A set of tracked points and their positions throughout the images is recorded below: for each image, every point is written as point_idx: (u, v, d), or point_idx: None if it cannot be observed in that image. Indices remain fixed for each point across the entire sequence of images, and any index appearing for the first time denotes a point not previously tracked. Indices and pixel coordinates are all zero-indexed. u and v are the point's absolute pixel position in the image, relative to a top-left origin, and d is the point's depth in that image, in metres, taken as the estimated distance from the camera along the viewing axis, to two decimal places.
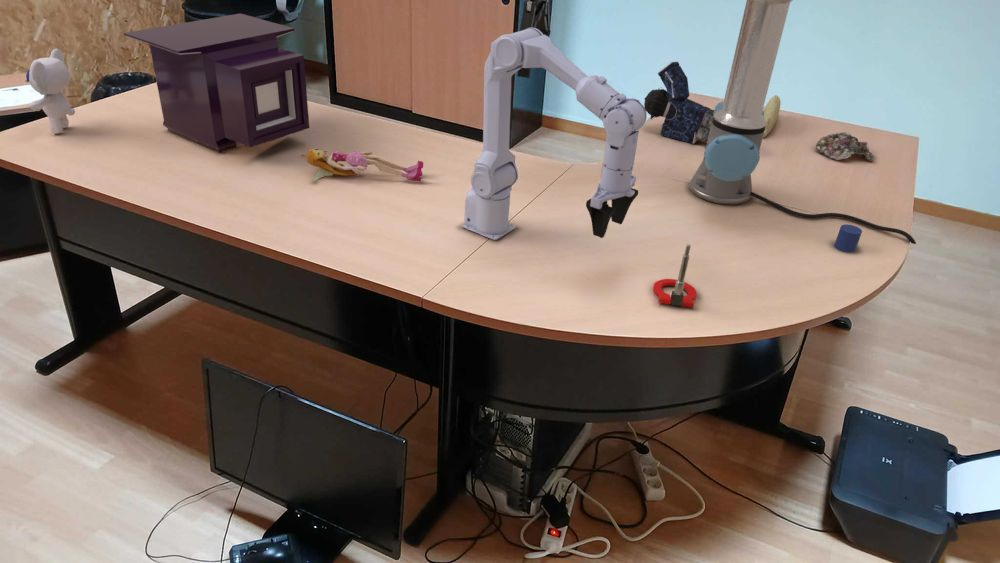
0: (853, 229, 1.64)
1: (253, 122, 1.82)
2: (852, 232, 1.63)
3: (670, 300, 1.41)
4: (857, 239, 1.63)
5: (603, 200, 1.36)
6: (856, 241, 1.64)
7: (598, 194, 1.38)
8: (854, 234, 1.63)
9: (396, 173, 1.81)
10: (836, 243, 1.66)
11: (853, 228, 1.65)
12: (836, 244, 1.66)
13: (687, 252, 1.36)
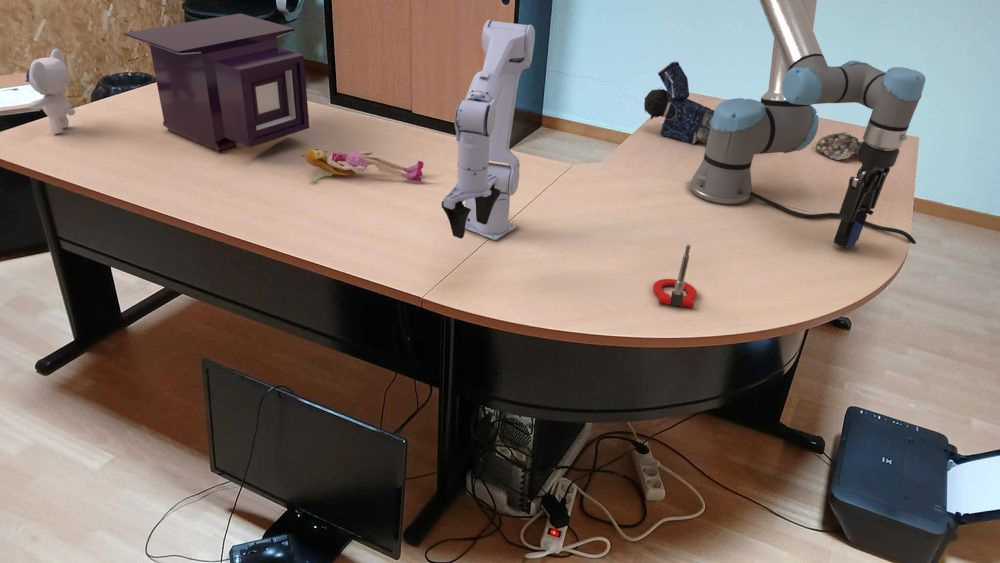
0: None
1: (253, 122, 1.82)
2: None
3: (670, 300, 1.41)
4: (857, 234, 1.63)
5: (455, 200, 1.34)
6: (856, 236, 1.63)
7: (452, 194, 1.35)
8: (854, 229, 1.62)
9: (396, 173, 1.81)
10: None
11: None
12: None
13: (687, 252, 1.36)
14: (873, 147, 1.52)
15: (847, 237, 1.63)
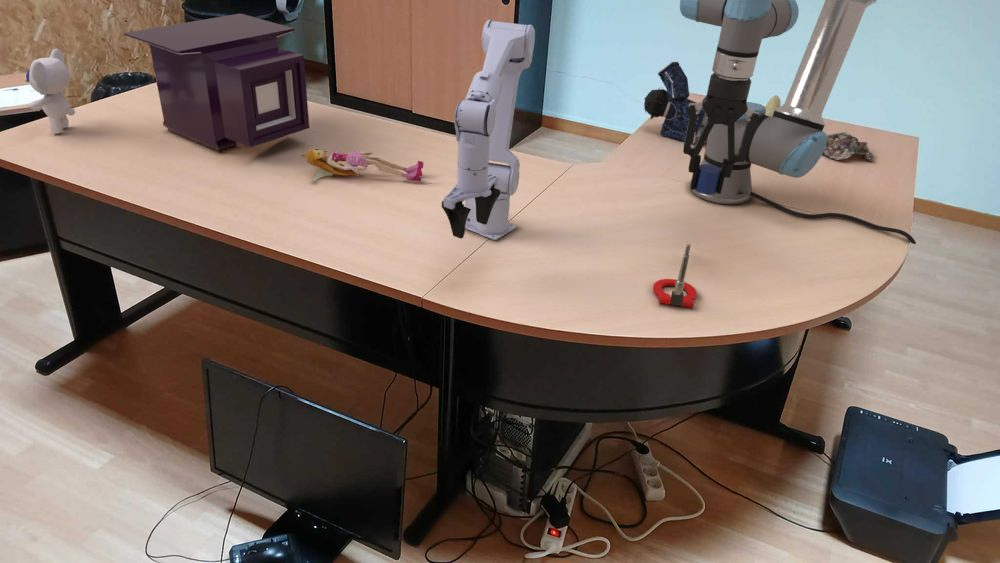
0: (710, 169, 1.48)
1: (253, 122, 1.82)
2: (703, 169, 1.47)
3: (670, 300, 1.41)
4: (706, 179, 1.47)
5: (455, 200, 1.34)
6: (705, 181, 1.47)
7: (452, 194, 1.35)
8: (702, 171, 1.47)
9: (396, 173, 1.81)
10: None
11: (713, 169, 1.48)
12: None
13: (687, 252, 1.36)
14: (714, 73, 1.39)
15: (692, 178, 1.48)
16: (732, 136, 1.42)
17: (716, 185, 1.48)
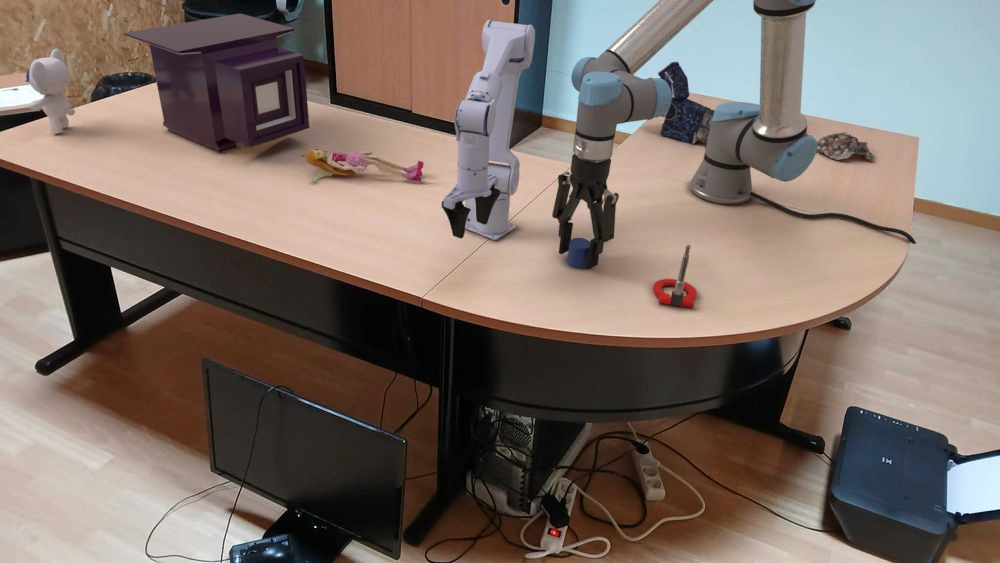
0: (579, 243, 1.51)
1: (253, 122, 1.82)
2: (572, 242, 1.51)
3: (670, 300, 1.41)
4: (571, 251, 1.51)
5: (455, 200, 1.34)
6: (570, 253, 1.51)
7: (452, 194, 1.35)
8: (569, 243, 1.51)
9: (396, 173, 1.81)
10: None
11: (582, 244, 1.50)
12: None
13: (687, 252, 1.36)
14: None
15: None
16: (593, 214, 1.44)
17: (581, 260, 1.51)
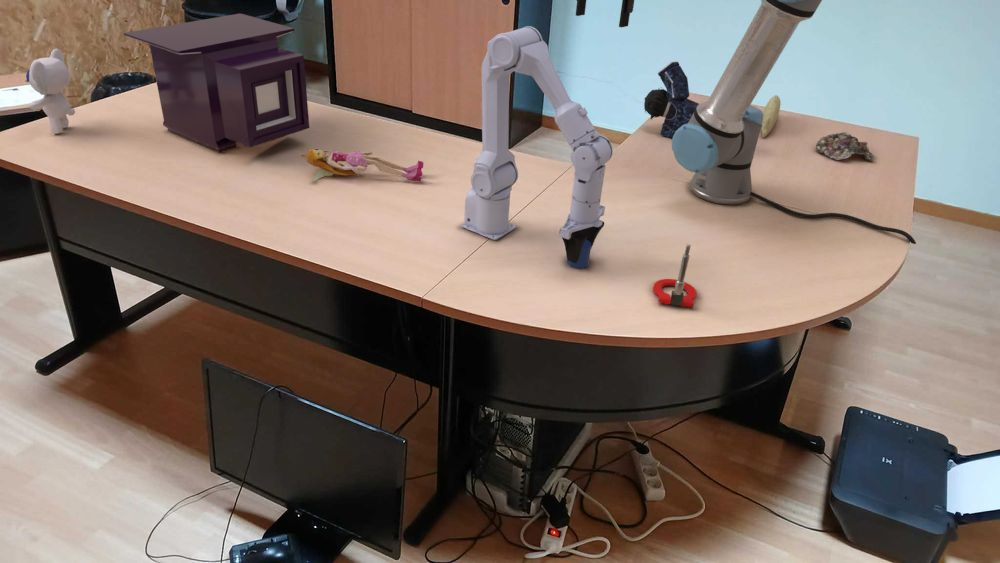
0: None
1: (253, 122, 1.82)
2: None
3: (670, 300, 1.41)
4: None
5: (572, 231, 1.43)
6: None
7: (567, 225, 1.45)
8: None
9: (396, 173, 1.81)
10: None
11: None
12: None
13: (687, 252, 1.36)
14: None
15: None
16: None
17: (581, 260, 1.51)
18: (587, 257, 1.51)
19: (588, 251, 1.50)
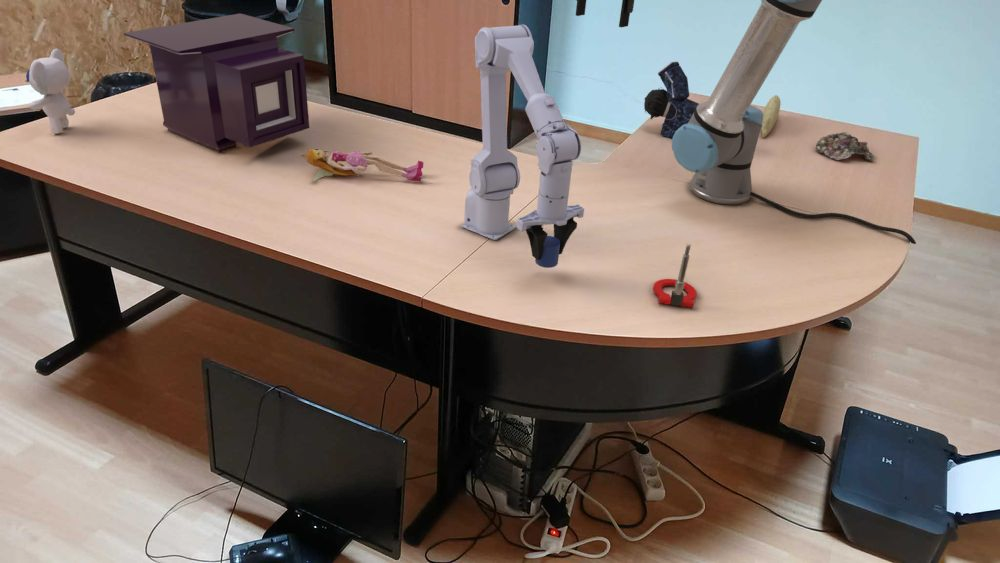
0: (547, 241, 1.44)
1: (253, 122, 1.82)
2: None
3: (670, 300, 1.41)
4: None
5: (527, 223, 1.37)
6: None
7: (528, 217, 1.39)
8: None
9: (396, 173, 1.81)
10: None
11: (549, 242, 1.43)
12: None
13: (687, 252, 1.36)
14: None
15: None
16: None
17: (545, 259, 1.44)
18: (552, 257, 1.43)
19: (553, 250, 1.43)
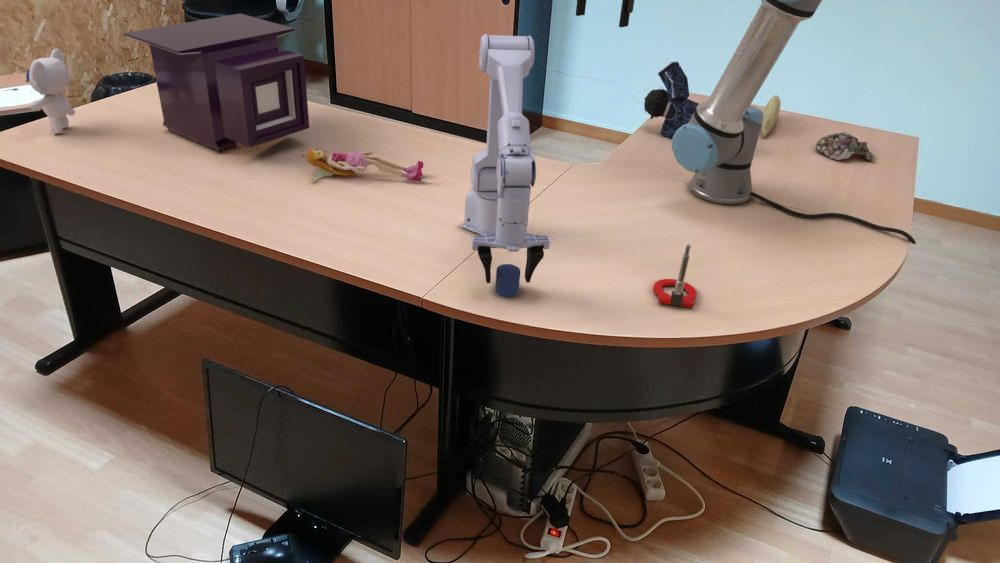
0: (506, 269, 1.40)
1: (253, 122, 1.82)
2: (503, 265, 1.41)
3: (670, 300, 1.41)
4: None
5: (478, 243, 1.35)
6: None
7: (484, 237, 1.37)
8: None
9: (396, 173, 1.81)
10: None
11: (507, 271, 1.40)
12: None
13: (687, 252, 1.36)
14: None
15: None
16: None
17: (500, 287, 1.40)
18: (507, 286, 1.39)
19: (508, 280, 1.39)
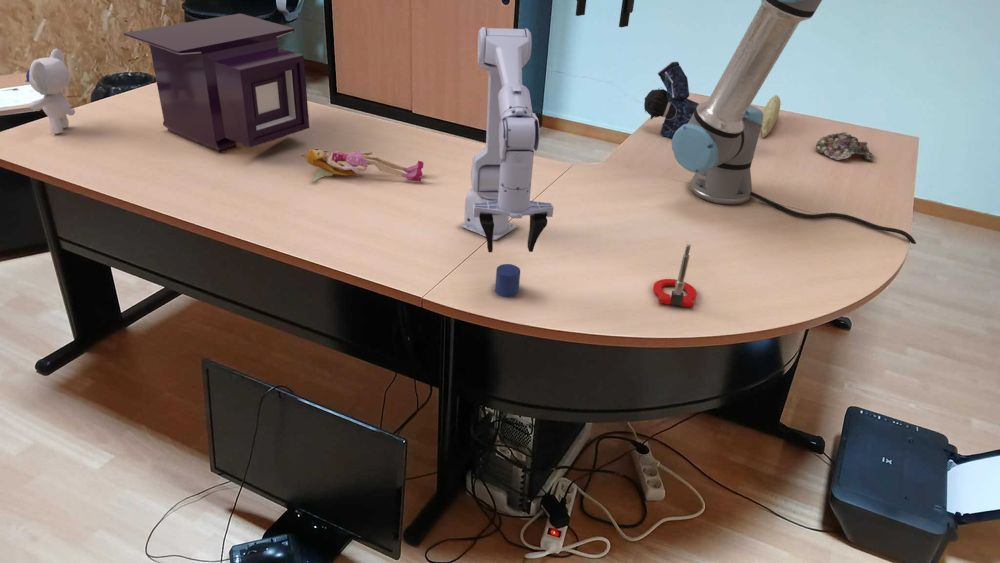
0: (506, 269, 1.40)
1: (253, 122, 1.82)
2: (503, 265, 1.41)
3: (670, 300, 1.41)
4: None
5: (479, 210, 1.31)
6: None
7: (486, 204, 1.33)
8: None
9: (396, 173, 1.81)
10: None
11: (507, 271, 1.40)
12: None
13: (687, 252, 1.36)
14: None
15: None
16: None
17: (500, 287, 1.40)
18: (507, 286, 1.39)
19: (508, 280, 1.39)
